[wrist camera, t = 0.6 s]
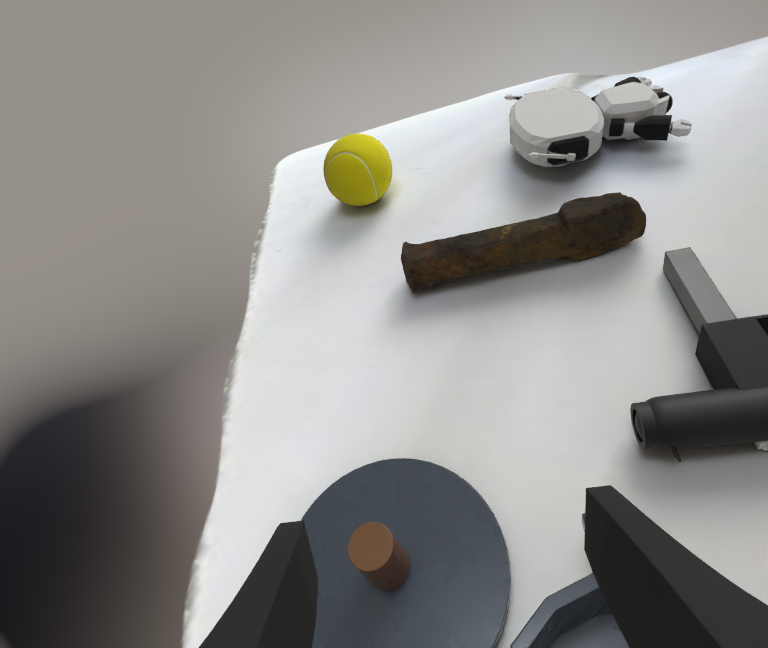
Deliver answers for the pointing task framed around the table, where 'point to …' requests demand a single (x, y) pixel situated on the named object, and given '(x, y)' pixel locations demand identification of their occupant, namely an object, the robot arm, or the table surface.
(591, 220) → the brown rough rod
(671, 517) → the table surface
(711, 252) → the table surface
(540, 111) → the robot toy
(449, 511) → the pot lid
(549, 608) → the pot
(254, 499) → the table surface
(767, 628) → the robot arm
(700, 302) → the toy submachine gun
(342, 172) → the tennis ball
